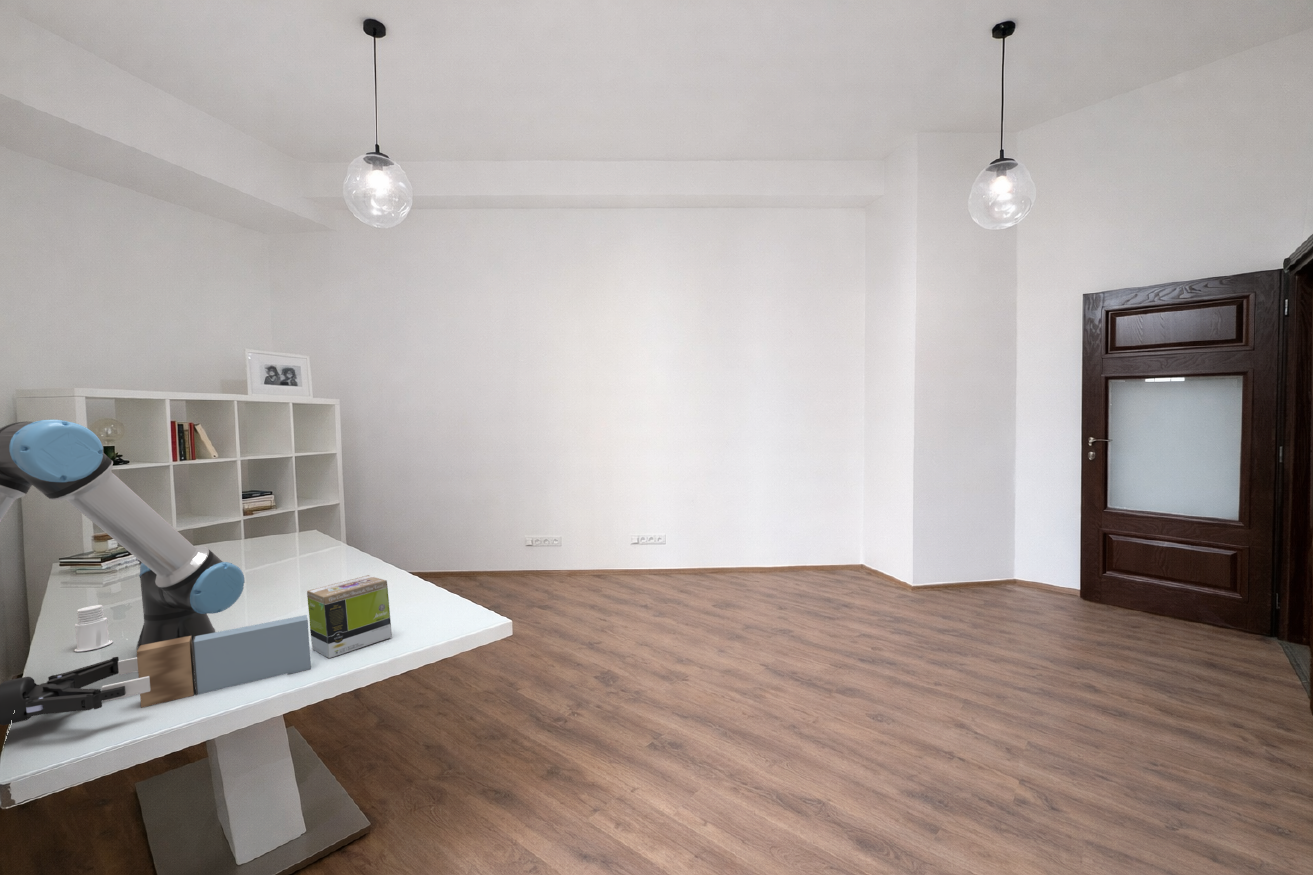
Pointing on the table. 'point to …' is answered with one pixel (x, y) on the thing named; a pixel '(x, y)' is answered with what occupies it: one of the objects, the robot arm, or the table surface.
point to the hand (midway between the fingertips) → (155, 670)
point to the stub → (167, 670)
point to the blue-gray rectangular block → (250, 653)
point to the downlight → (91, 629)
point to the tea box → (349, 615)
